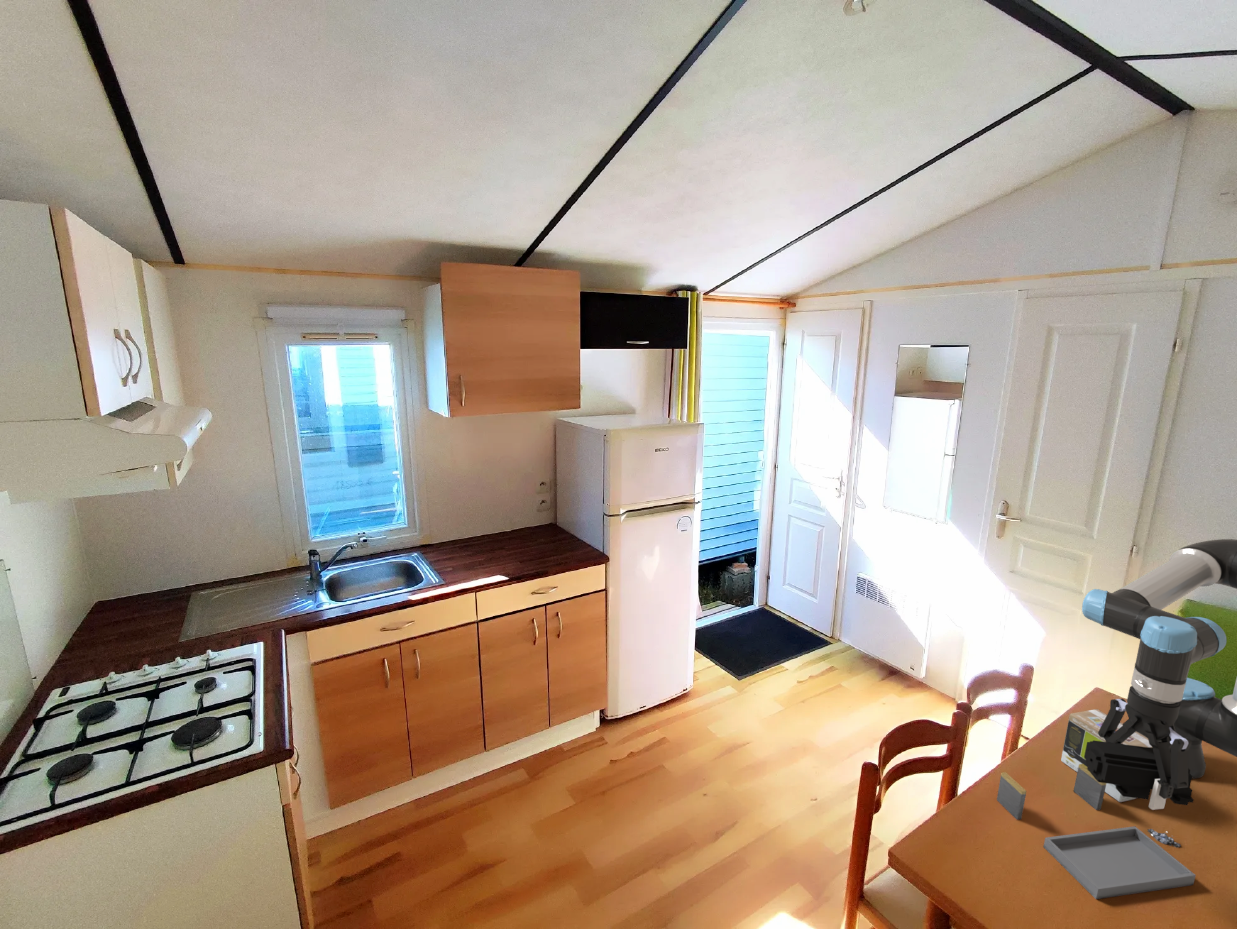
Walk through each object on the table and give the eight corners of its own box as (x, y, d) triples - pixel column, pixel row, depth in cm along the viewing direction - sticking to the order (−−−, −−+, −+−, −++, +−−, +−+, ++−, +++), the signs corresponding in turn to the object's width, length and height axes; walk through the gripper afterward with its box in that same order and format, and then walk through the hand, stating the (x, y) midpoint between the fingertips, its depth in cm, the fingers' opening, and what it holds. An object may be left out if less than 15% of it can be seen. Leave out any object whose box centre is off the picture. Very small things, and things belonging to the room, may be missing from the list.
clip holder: (1077, 790, 142) (1083, 763, 140) (1100, 809, 136) (1106, 781, 134) (996, 799, 138) (1001, 772, 137) (1016, 819, 133) (1021, 791, 131)
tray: (1132, 835, 129) (1135, 826, 128) (1193, 885, 117) (1195, 875, 116) (1043, 846, 125) (1045, 837, 125) (1095, 899, 114) (1098, 889, 113)
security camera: (1201, 815, 112) (1212, 771, 110) (1095, 799, 116) (1105, 757, 114) (1174, 788, 119) (1185, 747, 117) (1076, 775, 122) (1084, 735, 120)
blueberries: (1142, 822, 133) (1143, 815, 133) (1190, 842, 127) (1191, 834, 127) (1139, 839, 129) (1140, 832, 128) (1189, 860, 123) (1190, 852, 123)
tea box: (1149, 796, 140) (1162, 744, 137) (1119, 803, 138) (1131, 751, 135) (1087, 754, 154) (1097, 706, 151) (1058, 760, 152) (1068, 712, 149)
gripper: (1088, 665, 122) (1070, 755, 127) (1199, 730, 102) (1173, 835, 106) (1118, 663, 123) (1099, 752, 128) (1234, 726, 103) (1206, 830, 107)
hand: (1132, 790), depth 117 cm, fingers closed on security camera, 8 cm apart
